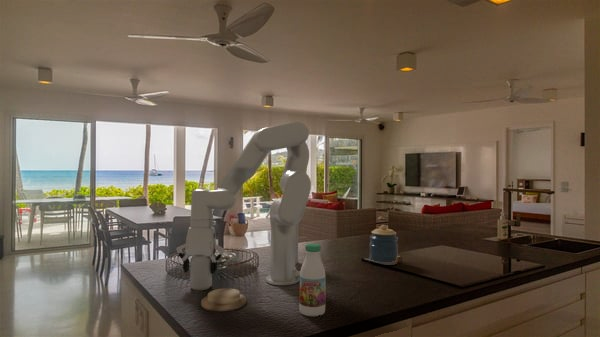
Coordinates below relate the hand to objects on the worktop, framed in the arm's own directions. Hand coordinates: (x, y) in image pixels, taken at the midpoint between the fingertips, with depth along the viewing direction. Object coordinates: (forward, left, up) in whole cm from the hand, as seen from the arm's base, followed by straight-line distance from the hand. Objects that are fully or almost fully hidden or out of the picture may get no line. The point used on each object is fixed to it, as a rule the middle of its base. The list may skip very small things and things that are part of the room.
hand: (199, 272), depth 131 cm
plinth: (-12, +14, -6) cm, 19 cm away
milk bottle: (-40, +19, -6) cm, 45 cm away
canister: (-72, -43, -6) cm, 84 cm away
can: (0, 0, -6) cm, 6 cm away
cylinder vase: (-26, -38, -6) cm, 47 cm away
